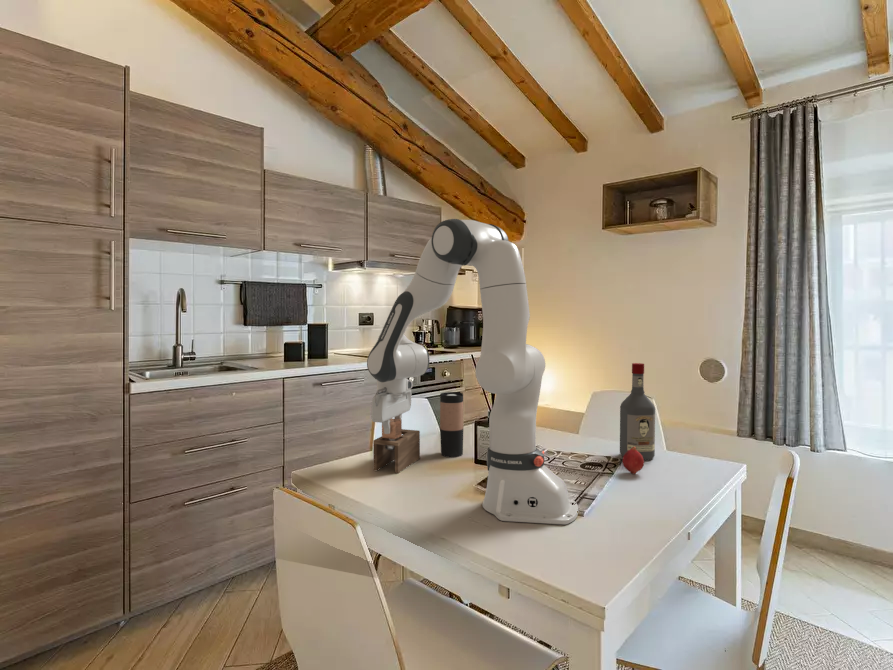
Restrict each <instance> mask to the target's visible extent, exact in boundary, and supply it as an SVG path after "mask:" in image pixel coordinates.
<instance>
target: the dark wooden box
mask: <svg viewBox="0 0 893 670" xmlns="http://www.w3.org/2000/svg"><path fill="white" fill-rule="evenodd" d="M420 433H421V431H420V430H417V429H416V430H415V429H414V430H413V429H406V428H405V429H404V428H402V436H400V437H398V438H396V439H395V441H389V438H382V435H381V436H379V437H377V438H376V439H374V440H373V442H372V443H373V445H372V447H373V448H372V449H373V452H372V453H373V455H372V456H373V471H374V470H377V471H379V470H380V469H379V468H381V467H382V468H384V467H386V466H387V465H389V464H391V463H392V462H394V473H395V474H399V473H401V472H403V471H404V470H405V469H407V468H408V467H410V466H411V465H413V464H414V463H415V461H416V462H418V460H420V459H421V437H420V436H421V434H420ZM385 445H391V446H395V450H387V449H385ZM393 460H394V461H393ZM391 461H392V462H391ZM388 463H389V464H388ZM412 463H413V464H412ZM386 464H387V465H386ZM409 465H410V466H409ZM383 466H384V467H383ZM406 467H407V468H406ZM382 468H381V469H382ZM378 469H379V470H378ZM403 469H404V470H403ZM400 471H401V472H400Z"/></svg>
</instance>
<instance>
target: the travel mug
mask: <svg viewBox="0 0 893 670" xmlns="http://www.w3.org/2000/svg"><path fill="white" fill-rule="evenodd" d="M439 395H440V396H439V398H440V399H439V400H440V401H439V404H440V405H439V406H440V407H439V408H440V409H439V410H440V411H439V430H440V431H439V433H440V435H439V437H440V454H441V456H442V457H446V458H458V457H462V456H463V455H464V454H463V453H464V394H463V393H462V392H458V391H457V392H456V391H445V392H441V393H440V394H439Z"/></svg>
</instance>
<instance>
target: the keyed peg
mask: <svg viewBox="0 0 893 670" xmlns="http://www.w3.org/2000/svg"><path fill="white" fill-rule="evenodd" d="M389 424H390V427H391V431H392V432H391V433H390V434H385V433H384V427H383V425H382V424H381V436H382V438H389V441H395V439H396V438H398V437H400V436H402V435H403V434H402V429H403V428H402V427H403V426H402V425H403V424H402V418H401V419H394V418H391V419H390V423H389ZM385 449H387V450H395V446H391V445H385Z"/></svg>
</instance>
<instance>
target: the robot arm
mask: <svg viewBox="0 0 893 670" xmlns="http://www.w3.org/2000/svg"><path fill="white" fill-rule="evenodd" d="M418 260H419V261H418V262H417V265H416V269H415V272H414V275H413V277H412V279H411V280H410V283H409V284H408V286H407V288H405V290H404V291H403V292H401V294H399V295H398V297H397V298H396V299H395V301H394V303H393V305H392V308H391V310H390V312H389V314H388V317H387V319H386V320H385V323H384V325H383V327H382V330H381V332H380V334H379V336H378V338H377V341H376V342H375V344H374V345H373V346H372V348H371V350H370V351H369V353H368V356H367V360H366V367H367V371H368V372H369V374H370V375H371V377H372V378H373V379H375V380H376V391H375V394H374V396H373V398H372V400H371V401H372V402H371V410H370V411H371V412H370V413H371V414H370V418H371V421H372V422H373V423H381V426H382V425H383V427H384V433H385V434H390V433H391V432H392V431H391V427H390V424H389V423H390V419H391V418H392V419H402V418H403V414H404V413H407V412H409V411H410V410H411V407H412V388H413V384H414V383H413V381H412V380H409V378H416V377H417V378H418V377H420V376H423V375H425V374H426V373H427V371H428V369H429V365H430V354H429V352H428V350H427V348H426V347H425V346H424V345H422V344H419V343H416V342H413V341H412V340H411V339H409V338H408V337H407V336H406V335H405V333H406V331H407V328H408V327H409V325H410V324H411V323H412V322H413V321H414V320H415V319H417V318H419V317H420V316H422V315H425V314H427V313H430V312H432V311H436V310H439V309H440V308H441V307H443V306H444V305H446V304H447V302H448V301H449V300H450V298H451V297H452V293H453V291H454V288H455V284H456V281H457V278H458V274H459V272H460V269H462V267H463V266H468V267H469V266H470V267H474V268H475V270H476V271H477V275H478V281H479V283H478V284H479V292H480V301H481V303H480V304H481V311H482V321H483V322H482V324H483V326H482V327H483V328H482V337H481V338H482V340H481V349H480V350H481V351H480V356H479V358H478V361H477V362H476V365H475V378H476V380H477V382H478V384H479V385H480V387H481V388H482V389H483V390H484V391H486V392H488V393H490V394H495V398H494V402H493V405H492V408H491V411H490V413H489V417H488V420H489V421H488V422H489V424H488V426H489V427H488V432H489V433H488V435H489V436H488V437H489V439H488V440H489V443H488V444H489V445H488V447H487V453H486V465H487V472H488V475H487V483H486V489H485V494H484V498H483V502H482V507H483V509H484V510H485V511H487V512H488V513H490V514H491V515H494V516H495V517H496V518H497V519H498V520H500V521H502V522H517V523H518V522H519V523H531V524H532V523H533V524H534V523H535V524H548V525H549V524H550V525H568V524H571V523H572V522H573V521H575V520H576V519H577V518H578V515H579V505H578V504H577V502H576V501H575V500H574V499H571V498H570V497H569V496H570V495H569V492H568V488H567V485H566V484H567V483H565V481H564V480H563V479H562V478H561V477H560V476H558V475H557V474H555V473H554V472H553V471H552V470H551V469H550V468H548V467H547V466H546V465H545V451H544V450H542V451H541V450H539V449H538V448H537V445H536V443H537V442H536V441H537V440H536V439H537V433H536V432H537V414H538V413H537V412H538V406H539V400H540V395H541V390H542V389H541V387H542V380H543V376H544V373H545V369H546V359H545V357H544V356H545V355H544V354H543V353H542V351H541V350H539V349H538V348H537V347H535V346H533V345H530V344H527V333H528V325H529V321H530V318H531V314H530V313H531V311H530V304H529V303H530V302H529V296H528V287H527V286H528V285H527V279H526V273H525V270H524V269H525V268H524V264H523V260H522V257H521V253H520V250H519V248H518V247H517V245H516V244H515V243H514V242H511V241H509V237H508V235H507V233H506V231H504V230H503V229H502V228H501V227H499V226H497V225H495V224H492V223H485V222H480V221H478V220H474V219H460V218H449V219H446V220H442V221H441V222H439V223H438V224H437V225H436V226H435V228H433V232H432V235H431V238H430V239H429V240H428V241H427V242H426V245H425V247H424V249H423V251H422V252H421V255H420V257H419V259H418ZM570 503H576V504H575V505H572V504H570ZM577 511H578V513H577Z"/></svg>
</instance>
